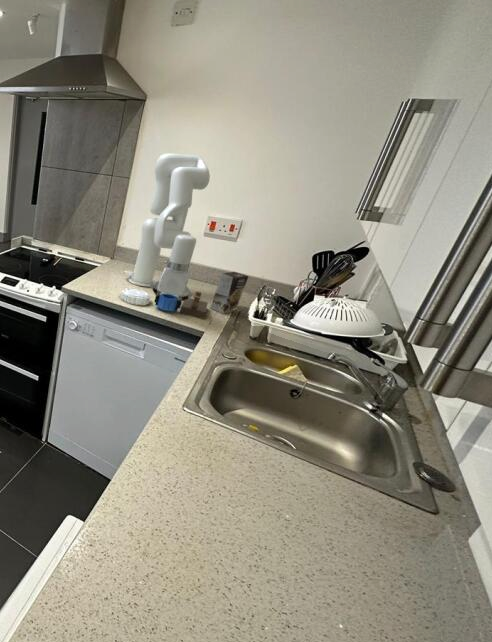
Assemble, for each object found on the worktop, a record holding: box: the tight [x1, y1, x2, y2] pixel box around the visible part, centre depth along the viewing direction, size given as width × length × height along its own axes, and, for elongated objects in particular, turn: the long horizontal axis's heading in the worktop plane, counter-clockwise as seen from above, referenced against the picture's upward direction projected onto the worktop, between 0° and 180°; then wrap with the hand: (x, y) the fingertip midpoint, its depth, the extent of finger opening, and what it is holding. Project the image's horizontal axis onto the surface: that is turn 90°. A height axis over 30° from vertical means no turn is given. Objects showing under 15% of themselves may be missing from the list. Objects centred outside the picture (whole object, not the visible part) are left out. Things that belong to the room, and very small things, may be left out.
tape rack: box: [179, 290, 209, 320], centre depth 163 cm, size 9×13×8 cm
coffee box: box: [209, 271, 249, 314], centre depth 165 cm, size 9×6×16 cm
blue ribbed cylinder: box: [156, 292, 179, 312], centre depth 162 cm, size 7×7×5 cm
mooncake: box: [120, 287, 151, 306], centre depth 170 cm, size 12×12×4 cm
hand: (166, 306), depth 163 cm, fingers closed on blue ribbed cylinder, 7 cm apart
